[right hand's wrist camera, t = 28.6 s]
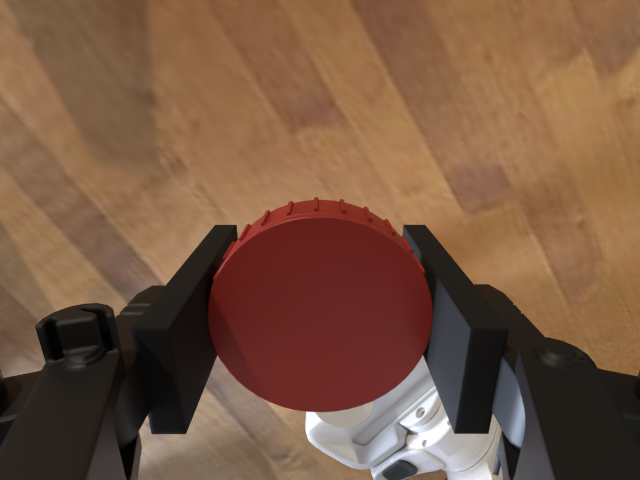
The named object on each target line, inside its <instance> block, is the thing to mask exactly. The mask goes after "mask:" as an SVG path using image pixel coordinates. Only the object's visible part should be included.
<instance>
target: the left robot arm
mask: <svg viewBox="0 0 640 480" xmlns="http://www.w3.org/2000/svg"><path fill="white" fill-rule="evenodd" d="M501 430H502V429H501V427H500V425H499V423H498V421H497V420H496V418H495V416H494V414H492V419H491V424H490V429H489V434H454V432H453V429H452V427H451V424H450V422H449V419H448V417H447V414H446V412H445V409H444V407H443V404H442V402H441V399H440V397H439V394H438V392H437V389H436V387H435V384H434V382H433V379H432V377H431V374H430V372H429V369H428V367H427V364H426V362H425V359H424V356H422V358H421V360H420V361H419V363H418V364H417V366H416V367H415V368H414V370H413V371H412V372H411V373H410V374H409V375H408V377H407V378H406V379H405V380H404V381H403V382H401V383H400V384H399V385H398V386H397V387H396V388H394V389H393V390H391V391H390V392H388V393H387V394H385V395H384V396H382V397H380V398H378V399H376V400H375V406H374V409H373V412H372V414H371V415H370V416H369V418H368V419H367V420H365V421H364V422H362V423H361V424H359V425H356V426H353V427H346V428H341V427H334V426H330V425H329V424H326V423H324V422H322V420H321V419H320V418H318V417H317V415H316V414H315V412H306V434H307V437H308V440H309V441H310V442H311V443H312V444H313V445H314V446H315V447H317V448H318V449H320V450H321V451H323V452H324V453H326V454H327V455H329V456H331V457H332V458H334V459H336V460H338V461H339V462H341V463H343V464H345V465H347V466H349V467H352V468H355V469H360V470H365V469H371V473H372V477H373V479H374V480H405V479H407V478H410V477H413V476H416V475H419V474H423V473H427V472H432V471H437V470H439V469H442V470H443V471H445V472H446V474H447V478H446V479H445V480H503V476H502V469H501V467H500V471H499V475H498V476H497V475H493V469H494V463H495V459H496V454H497V449H498V445H499V440H500V435H501Z"/></svg>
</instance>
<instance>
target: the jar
mask: <svg viewBox="0 0 640 480" xmlns="http://www.w3.org/2000/svg"><path fill="white" fill-rule="evenodd" d="M374 406H375V400H374V401H372V402H370V403H367V404H364V405H362V406H359V407H355V408H351V409H348V410H342V411H335V412H315V414H316V415H317V417H318V418H320V419H321V420H322V422H324V423H326V424H329V425H330V426H334V427H341V428H346V427H353V426H356V425H359V424H361V423H362V422H364V421H365V420H367V419H368V418H369V416H370V415H371V414H372V412H373V409H374Z"/></svg>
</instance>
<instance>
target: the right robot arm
mask: <svg viewBox="0 0 640 480" xmlns="http://www.w3.org/2000/svg"><path fill="white" fill-rule="evenodd" d="M403 235H404V237H405V238H406V240H407V241H408V243H409V245H410V246H411V248H412V250H413V251H414V253H412V255H416V257H417V258H418V260H419V262H420V263H421V265H422V267H423V268H424V270H425V272H426V274H424V276H425V278H426V281H427V283H428V285H429V289H430V292H431V296H432V303H433V317H432V326H431V334H430V339H429V342H428V345H427V348H426V350H425V352H424V354H423V356H424V359H425V362H426V364H427V367H428V369H429V372H430V374H431V377H432V379H433V382H434V384H435V387H436V389H437V392H438V394H439V397H440V399H441V402H442V404H443V407H444V409H445V412H446V414H447V417H448V419H449V422H450V424H451V427H452V429H453V432H454V434H489V429H490V424H491V419H492V414H494V416H495V418H496V420H497V421H498V423H499V425H500V427H501V429H502V430H501V435H500V440H499V445H498V449H497V454H496V459H495V463H494V469H493V475H497V476H498V475H499V471H500V467H501V469H502V476H503V480H640V371H639V374H638V376H633V375H627V374H622V373H617V372H612V371H607V370H602V369H598V368H597V367H596V365H595V363H594V362H593V360H592V359H591V358H590V357H589V356H588V355H587V354H586V353H585V352H583V351H581V350H580V349H578V348H577V347H575V346H573V345H571V344H568V343H566V342H563V341H560V340H556V339H552V338H548V337H544V336H543V335H542V334H541V332H540V331H539V330H538V329H537V328H536V327H535V326H534V325H533V324H532V323H531V322H530V321H529V320H528V319H527V318H526V316H525V315H524V314H521V311H520V310H519V309H518V308H517V307H516V306H515V305H513V303H512V301H511V300H510V299H509V298H508V297H507V296H506V295H505V294H504V293H503V292H501V291H499V290H497V289H496V288H494V287H492V286H490V285H488V284H473V283H472V282H471V281H470V279H469V278H468V277H467V276H466V275H465V273H464V272H463V271H462V270H461V268H460V267H459V266H458V265H457V264H456V262H455V261H454V260H453V259H452V257H451V256H450V255H449V254H448V253H447V251H446V250H445V249H444V248H443V246H442V245H441V244H440V243H439V242H438V240H437V239H436V238H435V237H434V235H433V234H432V233H431V232H430V231H429V229H428V228H427V227H426V226H425V225H404V227H403ZM237 240H238V237H237V225H215V226H214V227H213V228H212V230H211V231H210V232H209V233H208V235H207V236H206V237H205V238H204V239H203V241H202V242H201V243H200V244H199V246H198V247H197V248H196V249H195V250H194V252H193V253H192V254H191V255H190V257H189V258H188V259H187V260H186V261H185V263H184V264H183V265H182V266H181V268H180V269H179V270H178V271H177V272H176V274H175V275H174V276H173V277H172V279H171V280H170V281H169V282H168V283H167V285H166V286H151V287H149V288H147V289H146V290H144V291H142V292H140V293H138V294H137V295H136V296H135V297H134V298H133V299H132V300H131V301H130V302H129V303H128V306H126V307H125V308H124V309H123V310H122V311H121V312H120V315H117V316H116V317H114V312H113V309H112V308H111V307H109V306H108V305H104V304H98V303H92V304H81V305H76V306H71V307H68V308H65V309H62V310H59V311H57V312H54V313H52V314H51V315H49V316H47V317H45V318H43V319H42V320H41V321H40V322H39V323H38V324H37V325H36V326H35V328H36V331H37V334H38V338H39V341H40V345H41V348H42V351H43V355H44V358H45V361H46V364H45V366H44V367H43V369H42V371H38V372H33V373H27V374H22V375H17V376H12V377H7V378H3V376H2V373H1V370H0V480H137V477H138V470H139V463H140V456H141V449H142V447H141V440H140V435H139V429H140V428H141V426H142V424H143V422H144V420H145V418H146V417H147V415H148V418H149V423H150V428H151V433H152V434H186V433H187V430H188V427H189V425H190V422H191V420H192V417H193V415H194V412H195V410H196V407H197V405H198V402H199V400H200V397H201V395H202V392H203V390H204V387H205V385H206V382H207V380H208V377H209V375H210V372H211V370H212V367H213V365H214V362H215V360H216V357H217V355H218V354H217V352H216V351H215V348H214V345H213V343H212V340H211V337H210V332H209V324H208V313H207V310H208V301H209V296H210V292H211V288H212V285H213V282H214V281H212V280H213V277H214V276H215V274H216V272H217V270H218V269H219V267H220V265H221V264H222V262H223V261H225V260H223V259H222V258H223V257H224V255H225V253H226V252H227V250H228V248H229V247H230V245H231V244H232V242H233V241H234V242H235V243H236V241H237Z"/></svg>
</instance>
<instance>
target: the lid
mask: <svg viewBox="0 0 640 480" xmlns="http://www.w3.org/2000/svg"><path fill="white" fill-rule="evenodd" d="M412 253H414V251H413V250H412V248H411V246H410V245H409V243H408V241H407V240H406V238H405V237H404V235H403V236H400V235H399V234H398V233H397V232H396V231H395V230H394V229H393V227H392V226H391V224H390V222H389V221H388V220H387V219H385V221H384V220H382V219H381V218H379V217H378V216H376V215H375V214H373V213H371V212H369V209H368V208H367V207H364V208H361V207H358V206H354V205H351V204H348V203H344V200H343V199H340V202H338V201H330V200H318V197H315V198H314V200H311V201H302V202H298V203H293V201H290V202H289V203H288V205H286V206H283V207H280V208H278V209H276V210H274V211H272V212H270V211H269V210H267V211H266V212H265V214H264V216H263V217H261V218H260V219H258V220H257V221H255V222H254V223H253V224H252V225H251V226H250V225H249V224H248V225H246V227H245V229H244V230H243V232H242V234H241V236H240V237H239V239H238V240H237V241H236V243H235V242H234V241H233V242H232V244H231V245H230V247H229V248H228V250H227V252H226V253H225V255H224V257H223V258H222V259H223V260H225V261H223V262H222V264H221V265H220V267H219V269H218V270H217V272H216V274H215V276H214V277H213V280H212V281H214V282H213V285H212V288H211V292H210V296H209V301H208V310H207V313H208V324H209V332H210V337H211V340H212V343H213V345H214V348H215V351H216V352H217V354H218V356H219V358H220V360H221V362H222V363H223V364H224V366H225V367H226V369H227V370H228V371H229V372H230V374H231V375H232V376H233V377H234V378H235V379H236V380H237V381H238V382H239V383H241V384H242V385H243V386H244V387H245V388H246V389H248V390H249V391H251V392H252V393H254V394H255V395H257V396H259V397H261V398H263V399H265V400H267V401H269V402H271V403H274V404H276V405H279V406H282V407H286V408H289V409H293V410H299V411H306V412H335V411H342V410H348V409H351V408H355V407H359V406H362V405H364V404H367V403H370V402H372V401H374V400H376V399H378V398H380V397H382V396H384V395H385V394H387V393H388V392H390V391H391V390H393V389H394V388H396V387H397V386H398V385H399V384H400V383H401V382H403V381H404V380H405V379H406V378H407V377H408V375H409V374H410V373H411V372H412V371H413V370H414V368H415V367H416V366H417V364H418V363H419V361H420V360H421V358H422V356H423V354H424V352H425V350H426V348H427V345H428V342H429V339H430V334H431V326H432V317H433V303H432V296H431V292H430V289H429V285H428V283H427V281H426V278H425V276H424V274H426V272H425V270H424V268H423V267H422V265H421V263H420V262H419V260H418V258H417V257H416V255H412Z"/></svg>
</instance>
